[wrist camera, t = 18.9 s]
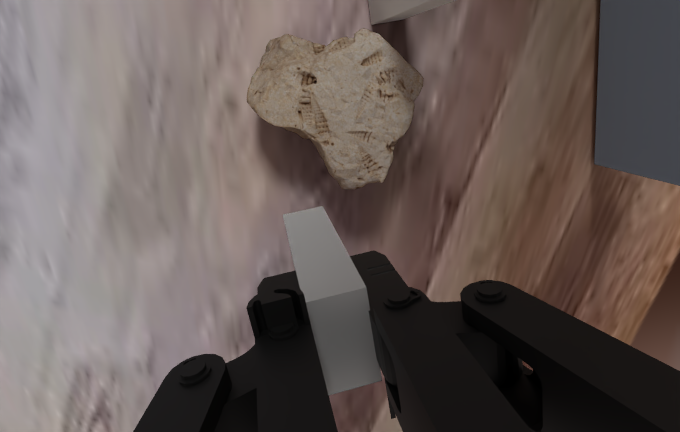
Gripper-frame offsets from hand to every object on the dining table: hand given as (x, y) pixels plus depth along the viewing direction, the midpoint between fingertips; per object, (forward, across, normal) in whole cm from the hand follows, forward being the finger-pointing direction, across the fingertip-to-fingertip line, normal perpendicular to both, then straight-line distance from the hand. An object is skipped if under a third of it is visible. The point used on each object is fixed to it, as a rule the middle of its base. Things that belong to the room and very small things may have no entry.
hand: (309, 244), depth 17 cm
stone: (+17, +8, +1) cm, 19 cm away
